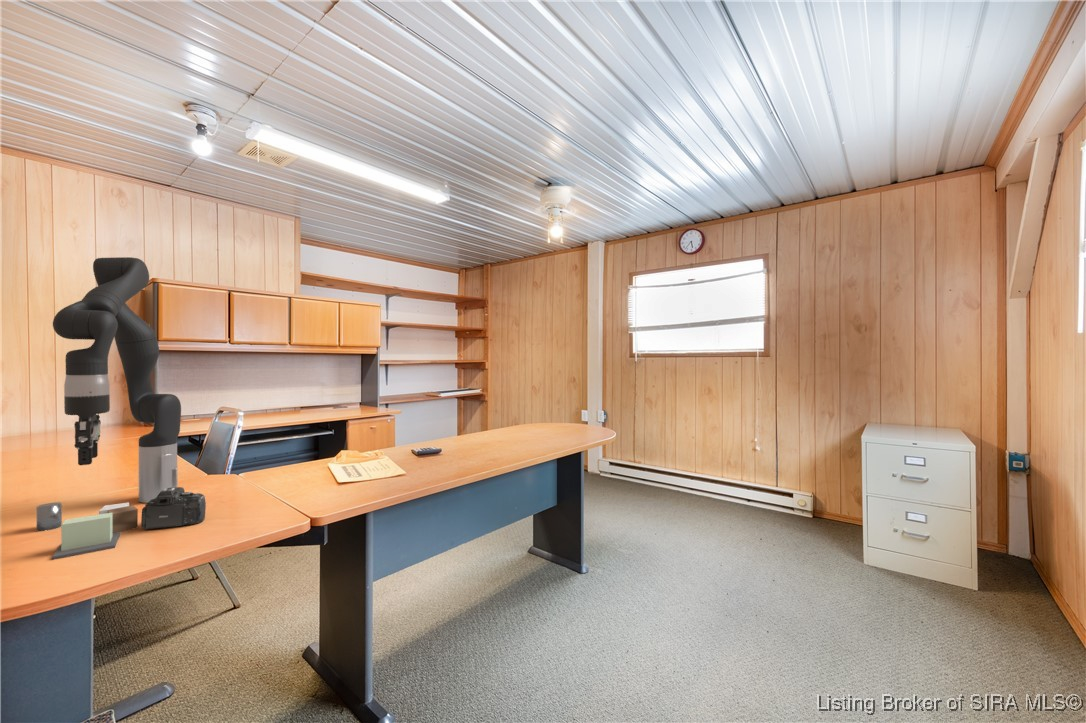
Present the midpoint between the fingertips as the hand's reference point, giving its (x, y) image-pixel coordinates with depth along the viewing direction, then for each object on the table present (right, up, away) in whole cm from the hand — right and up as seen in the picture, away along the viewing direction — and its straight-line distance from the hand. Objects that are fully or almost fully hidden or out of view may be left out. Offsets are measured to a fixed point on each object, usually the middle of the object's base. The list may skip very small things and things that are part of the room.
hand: (88, 461), depth 105 cm
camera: (+9, -20, +14) cm, 26 cm away
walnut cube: (-2, -20, +10) cm, 23 cm away
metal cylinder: (-21, -20, +10) cm, 31 cm away
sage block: (+1, -20, -1) cm, 20 cm away
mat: (+1, -20, -1) cm, 20 cm away
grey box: (-9, -20, +16) cm, 27 cm away
